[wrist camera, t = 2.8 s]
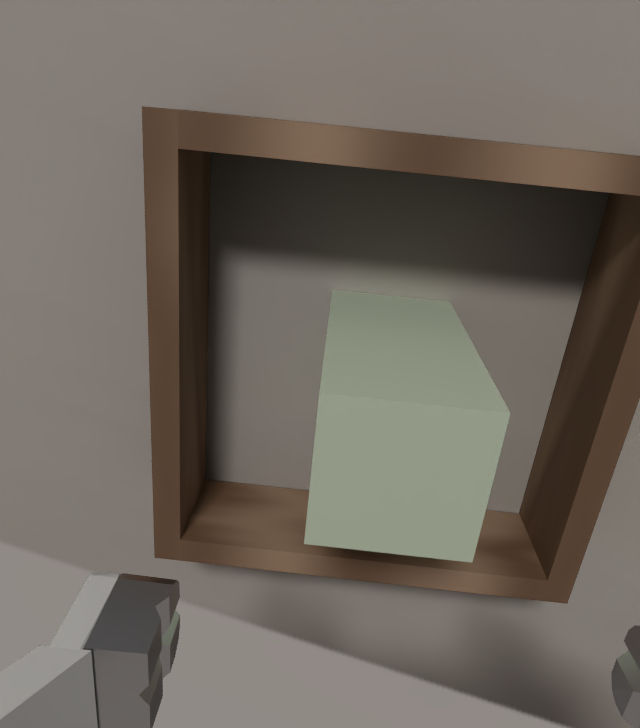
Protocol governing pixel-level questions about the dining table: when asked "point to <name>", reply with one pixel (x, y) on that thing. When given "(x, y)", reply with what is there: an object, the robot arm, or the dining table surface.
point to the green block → (402, 431)
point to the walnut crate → (289, 506)
